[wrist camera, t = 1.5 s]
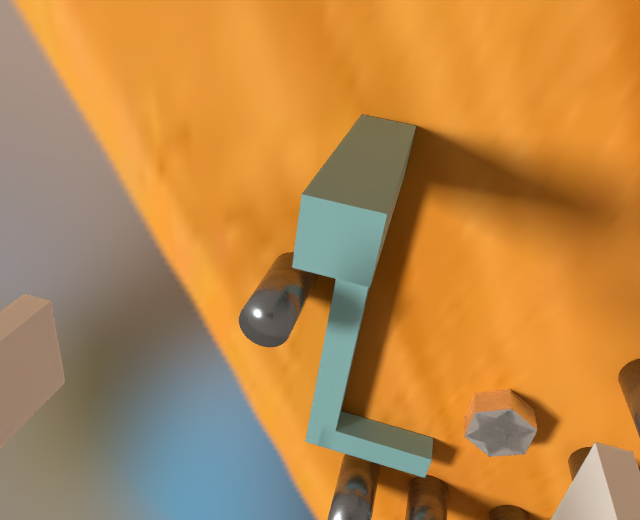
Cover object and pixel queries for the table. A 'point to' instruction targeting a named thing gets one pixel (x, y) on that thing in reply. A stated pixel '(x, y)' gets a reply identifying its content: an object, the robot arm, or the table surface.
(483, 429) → the hexagonal star block
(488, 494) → the table surface
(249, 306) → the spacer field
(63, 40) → the table surface
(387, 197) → the teal bent bar
